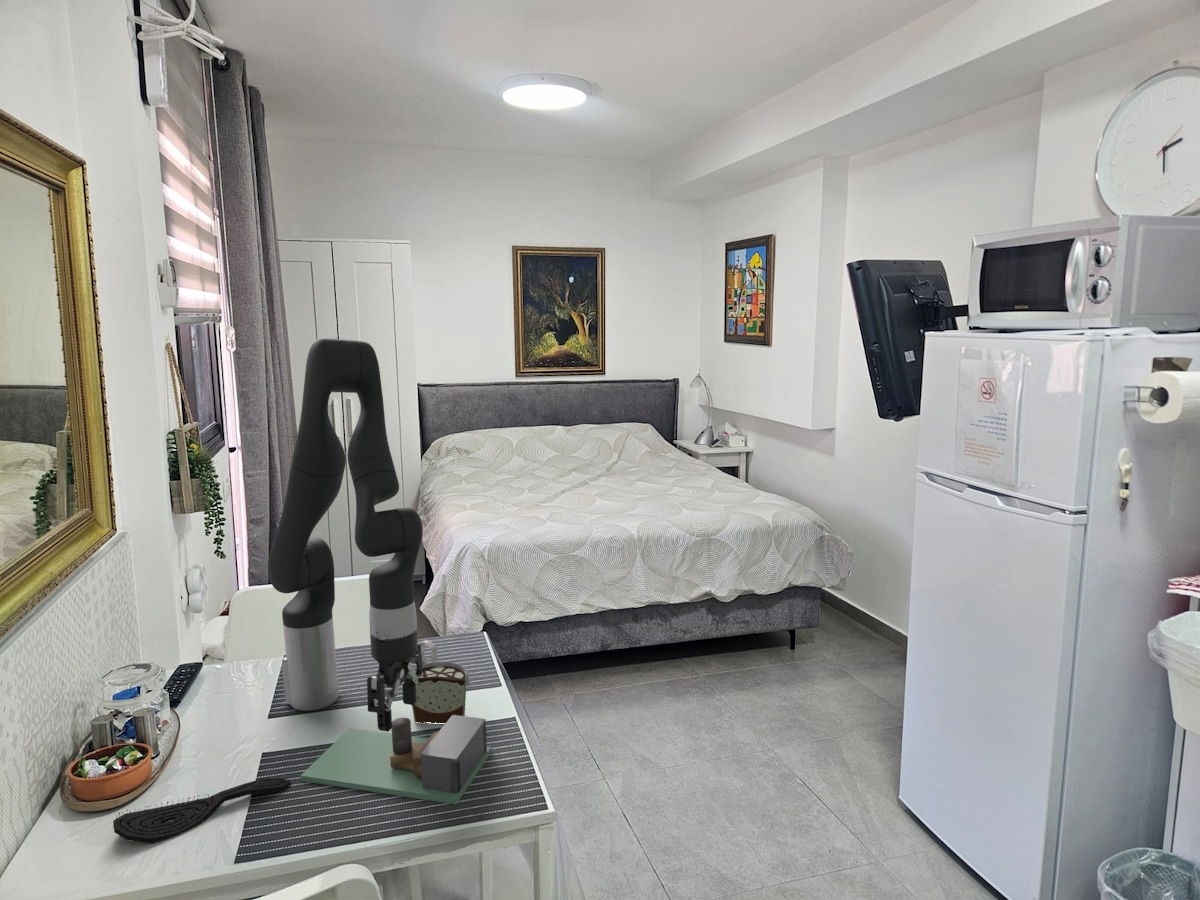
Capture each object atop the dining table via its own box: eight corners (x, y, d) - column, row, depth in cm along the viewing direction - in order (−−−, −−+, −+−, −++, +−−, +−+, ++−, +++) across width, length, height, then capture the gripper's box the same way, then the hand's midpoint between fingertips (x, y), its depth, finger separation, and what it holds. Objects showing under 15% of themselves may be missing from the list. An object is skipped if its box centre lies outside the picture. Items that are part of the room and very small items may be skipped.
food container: (478, 709, 153) (476, 661, 151) (470, 725, 147) (468, 676, 145) (417, 706, 154) (415, 659, 153) (407, 723, 148) (404, 674, 147)
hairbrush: (295, 782, 127) (113, 833, 113) (296, 803, 127) (115, 857, 113) (284, 758, 133) (111, 803, 120) (284, 778, 134) (113, 825, 120)
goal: (422, 788, 127) (420, 754, 126) (454, 746, 139) (452, 714, 138) (458, 793, 125) (456, 759, 124) (486, 750, 137) (485, 718, 136)
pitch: (301, 780, 131) (300, 775, 131) (349, 733, 145) (349, 728, 145) (456, 804, 124) (456, 798, 124) (491, 751, 139) (491, 746, 138)
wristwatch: (425, 657, 176) (423, 636, 175) (440, 663, 173) (439, 642, 172) (415, 662, 173) (413, 641, 172) (430, 668, 170) (429, 647, 169)
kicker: (383, 772, 131) (380, 734, 130) (405, 745, 139) (403, 709, 137) (423, 778, 129) (421, 739, 128) (444, 751, 137) (442, 714, 135)
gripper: (394, 608, 137) (398, 693, 140) (349, 642, 123) (355, 735, 127) (433, 612, 135) (436, 698, 138) (392, 648, 122) (397, 742, 125)
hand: (397, 716), depth 133 cm, fingers open, 8 cm apart
